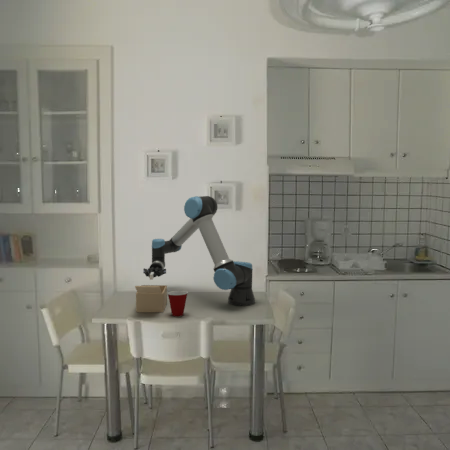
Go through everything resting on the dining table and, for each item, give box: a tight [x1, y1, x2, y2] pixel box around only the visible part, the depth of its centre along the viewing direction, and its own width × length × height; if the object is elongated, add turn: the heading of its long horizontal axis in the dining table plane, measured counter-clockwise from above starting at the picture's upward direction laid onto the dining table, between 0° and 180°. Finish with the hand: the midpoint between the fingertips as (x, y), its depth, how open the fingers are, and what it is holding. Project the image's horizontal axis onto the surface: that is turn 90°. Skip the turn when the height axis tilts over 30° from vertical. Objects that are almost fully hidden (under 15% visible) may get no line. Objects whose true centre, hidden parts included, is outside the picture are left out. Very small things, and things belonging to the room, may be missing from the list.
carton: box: [135, 284, 168, 313], centre depth 250 cm, size 14×18×10 cm
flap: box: [134, 285, 161, 293], centre depth 236 cm, size 12×1×10 cm
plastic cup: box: [167, 290, 189, 317], centre depth 237 cm, size 11×11×12 cm
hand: (151, 277), depth 244 cm, fingers closed
